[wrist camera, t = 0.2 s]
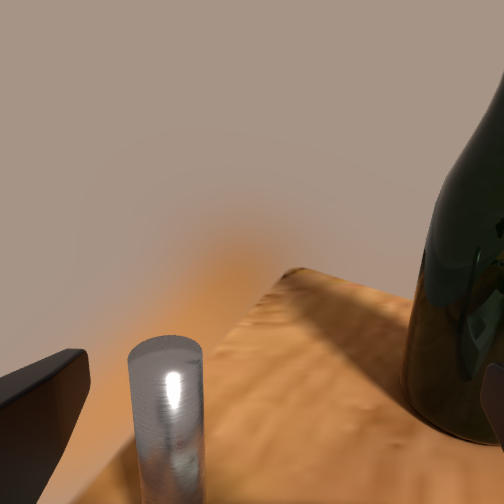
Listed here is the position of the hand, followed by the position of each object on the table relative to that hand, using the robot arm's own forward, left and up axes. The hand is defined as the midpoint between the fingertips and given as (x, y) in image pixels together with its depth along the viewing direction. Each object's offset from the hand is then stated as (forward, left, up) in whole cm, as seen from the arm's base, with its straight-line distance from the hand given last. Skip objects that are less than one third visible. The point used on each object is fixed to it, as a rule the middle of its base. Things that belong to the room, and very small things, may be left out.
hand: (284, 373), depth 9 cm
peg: (+7, +5, -17) cm, 19 cm away
